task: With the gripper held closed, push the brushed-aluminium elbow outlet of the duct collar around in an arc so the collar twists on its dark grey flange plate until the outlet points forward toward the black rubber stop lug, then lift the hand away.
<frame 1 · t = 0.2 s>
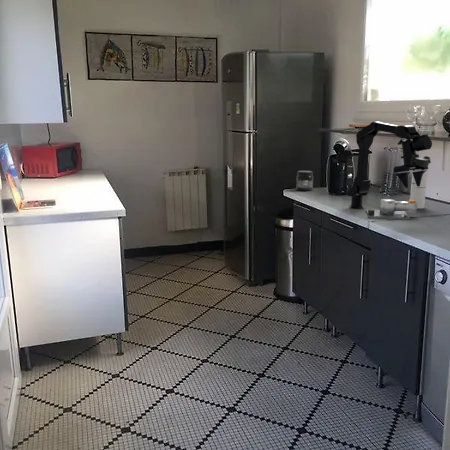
hand: (412, 187, 223), 15 cm above the worktop, tool pointing down, fingers open, 9 cm apart
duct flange: (386, 215, 235), on the worktop
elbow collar: (397, 206, 233), point 4 cm above the worktop, hinge at 90.0°
cylindrical container: (416, 207, 254), on the worktop
supplement container: (304, 190, 310), on the worktop
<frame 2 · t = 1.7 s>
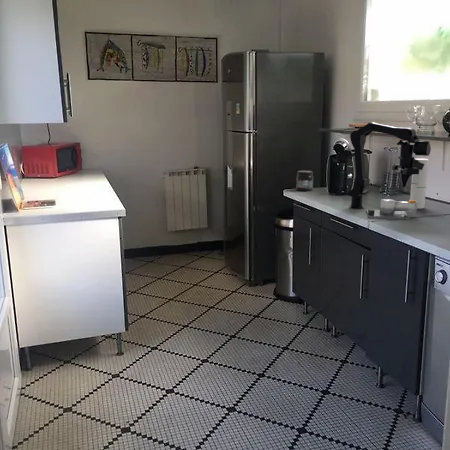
hand: (403, 187, 236), 13 cm above the worktop, tool pointing down, fingers closed
nothing on the worktop moved.
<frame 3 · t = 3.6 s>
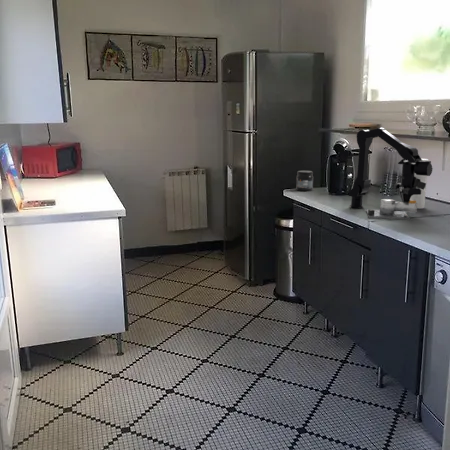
hand: (405, 206, 235), 4 cm above the worktop, tool pointing down, fingers closed
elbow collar: (398, 206, 233), point 4 cm above the worktop, hinge at 86.6°, touching gripper
everything else where it was.
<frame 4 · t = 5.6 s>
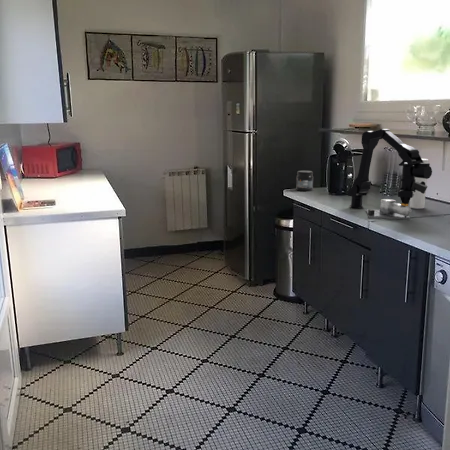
hand: (405, 209, 228), 4 cm above the worktop, tool pointing down, fingers closed
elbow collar: (394, 208, 229), point 4 cm above the worktop, hinge at 33.8°, touching gripper
everything else where it was.
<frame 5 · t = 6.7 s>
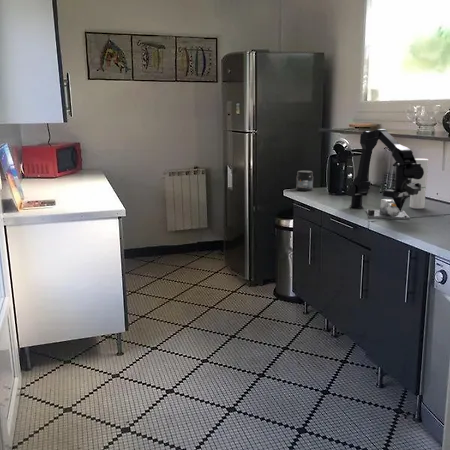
hand: (399, 210, 225), 4 cm above the worktop, tool pointing down, fingers closed
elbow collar: (389, 208, 229), point 4 cm above the worktop, hinge at 5.2°, touching gripper
everything else where it was.
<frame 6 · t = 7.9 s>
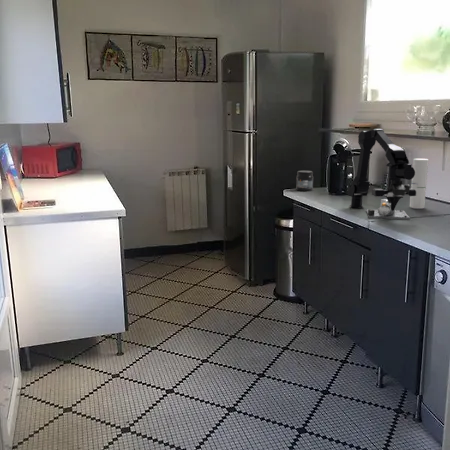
hand: (392, 210, 225), 4 cm above the worktop, tool pointing down, fingers closed
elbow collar: (386, 207, 230), point 4 cm above the worktop, hinge at -15.9°, touching gripper
everything else where it was.
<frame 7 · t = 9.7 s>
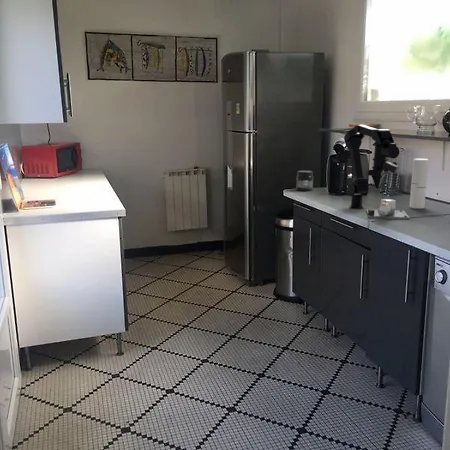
hand: (377, 188, 236), 13 cm above the worktop, tool pointing down, fingers closed
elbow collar: (386, 207, 230), point 4 cm above the worktop, hinge at -16.1°
everything else where it was.
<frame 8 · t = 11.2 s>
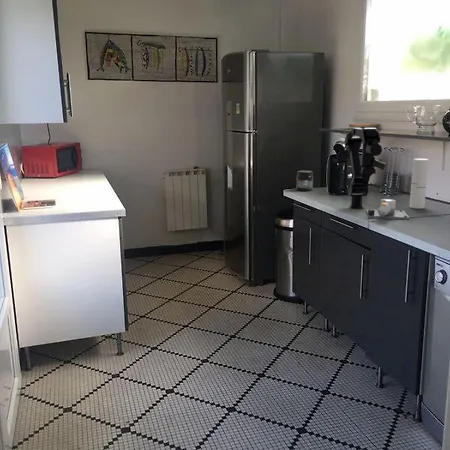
hand: (366, 186, 239), 13 cm above the worktop, tool pointing down, fingers closed
nothing on the worktop moved.
at the end: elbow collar at -16° (first picture: +90°) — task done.
